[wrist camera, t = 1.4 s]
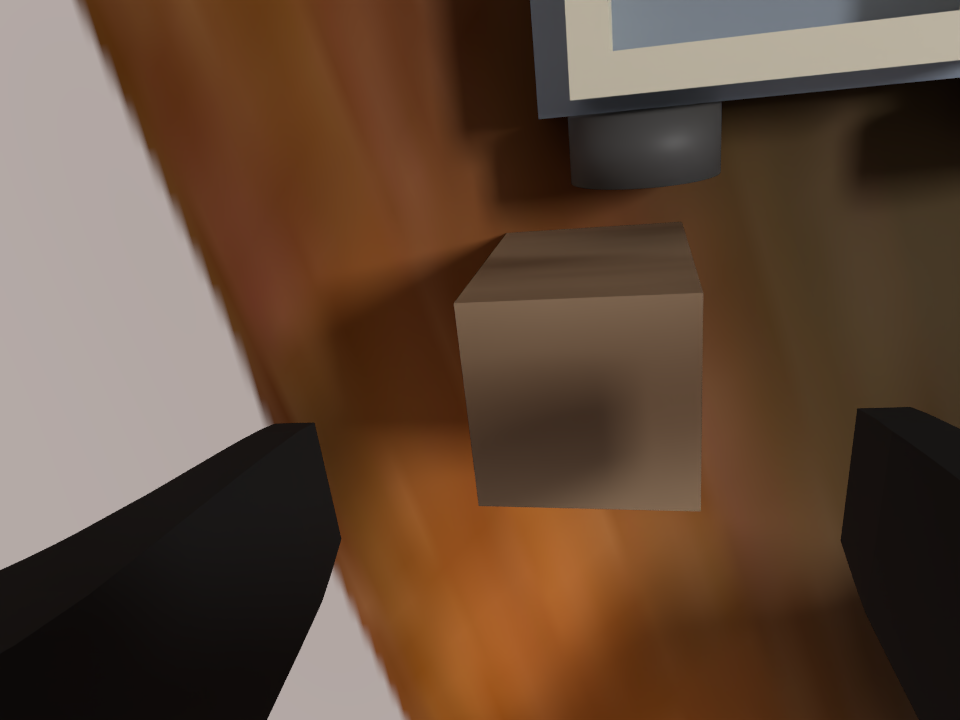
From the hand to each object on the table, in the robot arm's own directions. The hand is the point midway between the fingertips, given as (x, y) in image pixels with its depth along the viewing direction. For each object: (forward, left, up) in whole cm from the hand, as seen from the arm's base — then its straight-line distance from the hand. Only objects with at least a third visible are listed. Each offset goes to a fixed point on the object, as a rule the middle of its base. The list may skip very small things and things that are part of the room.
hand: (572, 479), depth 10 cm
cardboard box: (-1, 0, -10) cm, 10 cm away
